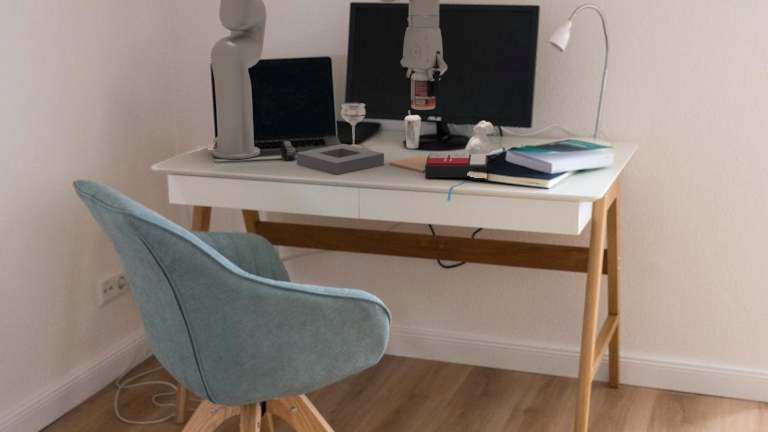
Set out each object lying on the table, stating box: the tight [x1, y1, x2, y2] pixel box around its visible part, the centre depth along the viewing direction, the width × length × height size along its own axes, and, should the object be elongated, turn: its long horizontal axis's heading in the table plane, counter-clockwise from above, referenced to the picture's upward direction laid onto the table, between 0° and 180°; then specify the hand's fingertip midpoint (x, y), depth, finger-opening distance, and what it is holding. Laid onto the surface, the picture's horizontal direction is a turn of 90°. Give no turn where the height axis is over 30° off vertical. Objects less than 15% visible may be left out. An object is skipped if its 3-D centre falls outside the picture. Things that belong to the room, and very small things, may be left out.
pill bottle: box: [410, 68, 436, 111], centre depth 243 cm, size 6×6×11 cm
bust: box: [464, 120, 494, 155], centre depth 255 cm, size 12×8×11 cm
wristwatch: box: [280, 140, 297, 161], centre depth 256 cm, size 3×5×5 cm
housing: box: [296, 143, 385, 176], centre depth 250 cm, size 16×16×3 cm
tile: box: [389, 154, 428, 174], centre depth 249 cm, size 12×12×1 cm
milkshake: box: [404, 110, 422, 149], centre depth 268 cm, size 4×5×10 cm
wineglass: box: [340, 102, 366, 148], centre depth 268 cm, size 7×7×12 cm
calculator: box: [424, 152, 489, 181], centre depth 239 cm, size 11×4×15 cm
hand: (423, 94), depth 244 cm, fingers closed on pill bottle, 6 cm apart
